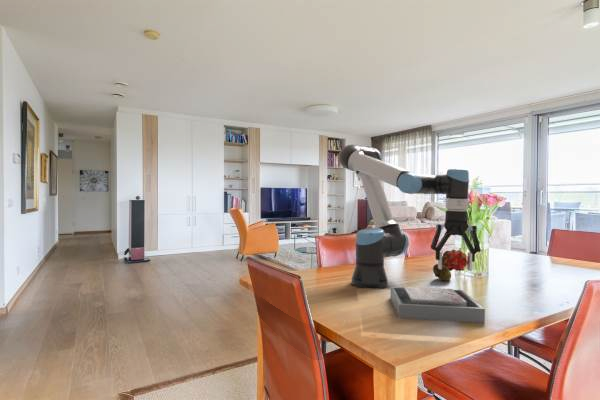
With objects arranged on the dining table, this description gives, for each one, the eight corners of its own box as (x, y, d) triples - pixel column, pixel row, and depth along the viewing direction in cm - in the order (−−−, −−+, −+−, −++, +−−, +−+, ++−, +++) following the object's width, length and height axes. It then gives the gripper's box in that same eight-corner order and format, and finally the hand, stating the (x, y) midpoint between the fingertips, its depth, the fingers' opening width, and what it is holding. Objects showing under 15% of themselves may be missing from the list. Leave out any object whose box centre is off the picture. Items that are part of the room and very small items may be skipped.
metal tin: (410, 315, 103) (410, 298, 103) (403, 301, 117) (403, 286, 117) (466, 318, 101) (466, 301, 101) (452, 303, 115) (452, 288, 115)
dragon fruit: (439, 275, 125) (462, 277, 130) (457, 265, 119) (480, 268, 124) (431, 254, 130) (453, 257, 135) (448, 244, 124) (470, 247, 129)
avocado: (458, 280, 152) (459, 262, 152) (444, 284, 144) (444, 265, 144) (441, 276, 159) (441, 259, 159) (426, 280, 151) (426, 262, 151)
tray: (398, 321, 101) (398, 304, 101) (390, 300, 121) (390, 286, 120) (484, 326, 97) (484, 308, 97) (461, 304, 117) (461, 290, 117)
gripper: (427, 209, 125) (425, 270, 125) (492, 211, 121) (490, 273, 122) (423, 208, 132) (421, 265, 133) (484, 210, 129) (482, 268, 129)
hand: (454, 269), depth 127 cm, fingers closed on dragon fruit, 10 cm apart
